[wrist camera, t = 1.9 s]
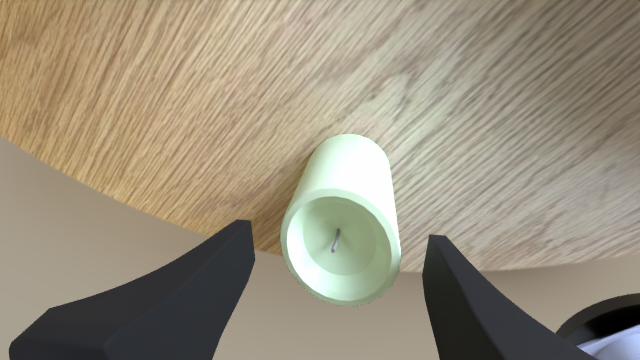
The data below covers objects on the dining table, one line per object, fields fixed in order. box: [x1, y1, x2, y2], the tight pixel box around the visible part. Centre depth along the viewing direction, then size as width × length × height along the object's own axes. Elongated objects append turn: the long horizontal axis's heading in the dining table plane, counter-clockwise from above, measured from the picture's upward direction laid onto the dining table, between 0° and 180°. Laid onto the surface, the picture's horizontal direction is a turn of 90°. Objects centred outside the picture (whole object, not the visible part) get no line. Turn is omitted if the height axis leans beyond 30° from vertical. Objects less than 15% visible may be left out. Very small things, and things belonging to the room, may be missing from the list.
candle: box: [280, 134, 401, 306], centre depth 16 cm, size 5×5×8 cm
